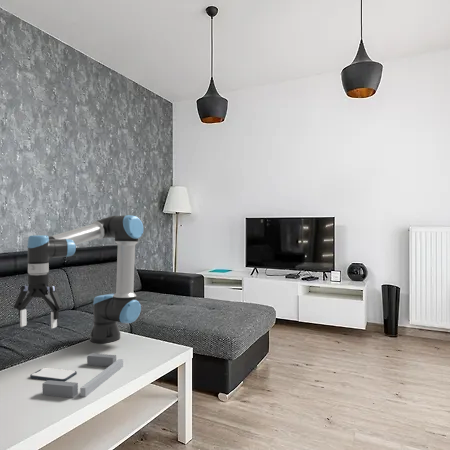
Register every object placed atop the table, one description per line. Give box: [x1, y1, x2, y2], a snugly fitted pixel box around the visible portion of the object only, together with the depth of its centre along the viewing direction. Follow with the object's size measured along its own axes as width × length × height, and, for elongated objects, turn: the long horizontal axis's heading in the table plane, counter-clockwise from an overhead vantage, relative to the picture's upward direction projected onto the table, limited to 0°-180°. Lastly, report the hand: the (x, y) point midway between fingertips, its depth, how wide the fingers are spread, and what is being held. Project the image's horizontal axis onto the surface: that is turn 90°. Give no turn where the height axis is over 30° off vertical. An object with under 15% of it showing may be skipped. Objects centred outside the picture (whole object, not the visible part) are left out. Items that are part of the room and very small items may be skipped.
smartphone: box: [29, 366, 77, 382], centre depth 149 cm, size 9×2×16 cm
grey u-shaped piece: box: [42, 353, 124, 399], centre depth 146 cm, size 31×16×4 cm, turn 168°
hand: (38, 326), depth 149 cm, fingers open, 13 cm apart
